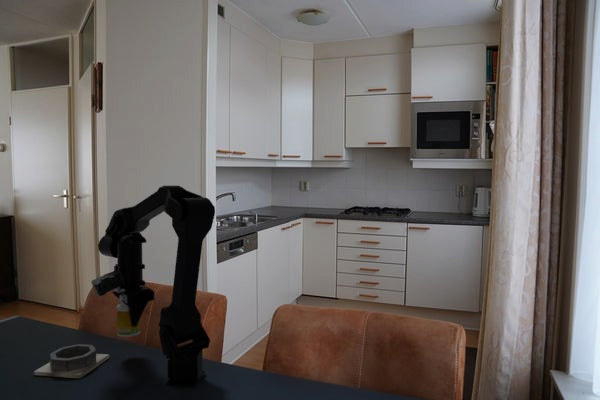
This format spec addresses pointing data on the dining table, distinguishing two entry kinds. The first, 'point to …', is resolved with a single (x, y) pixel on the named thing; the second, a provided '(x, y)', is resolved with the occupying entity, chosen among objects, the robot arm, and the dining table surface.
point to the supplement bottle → (125, 321)
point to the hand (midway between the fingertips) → (130, 323)
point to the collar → (72, 361)
